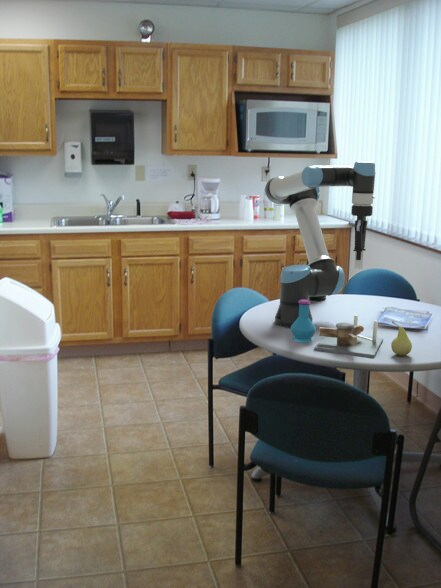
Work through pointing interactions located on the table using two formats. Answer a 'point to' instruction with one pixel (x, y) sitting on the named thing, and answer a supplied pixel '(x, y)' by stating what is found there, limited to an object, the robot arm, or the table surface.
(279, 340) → the table surface
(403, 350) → the fruit
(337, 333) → the capstan
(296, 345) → the table surface
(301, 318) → the perfume bottle
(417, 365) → the table surface
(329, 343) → the stand
